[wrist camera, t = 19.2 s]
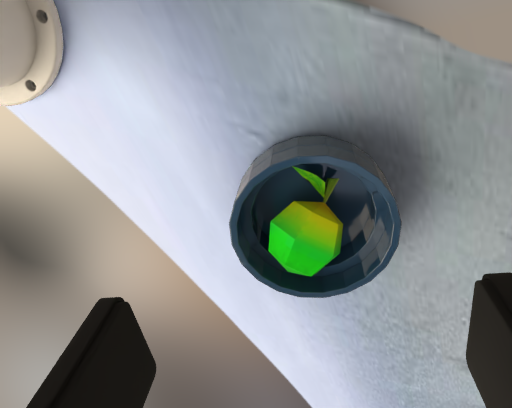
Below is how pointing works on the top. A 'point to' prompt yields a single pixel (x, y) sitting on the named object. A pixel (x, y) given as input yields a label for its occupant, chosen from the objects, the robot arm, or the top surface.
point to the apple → (307, 231)
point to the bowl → (299, 189)
